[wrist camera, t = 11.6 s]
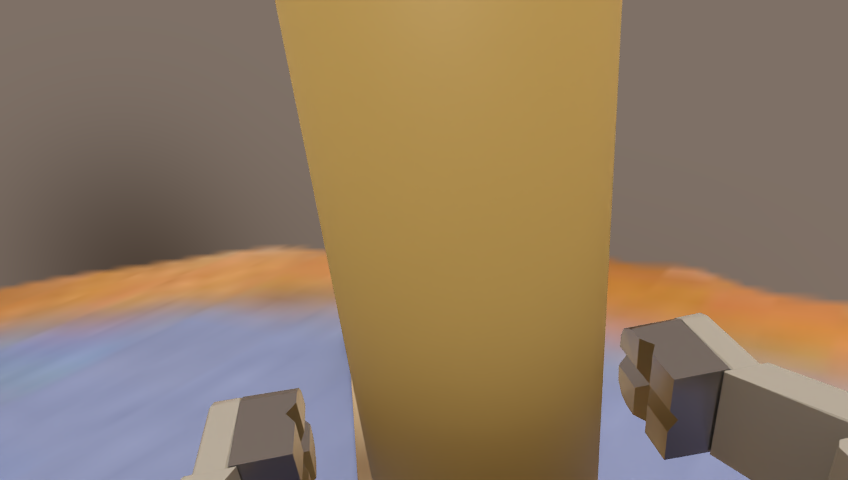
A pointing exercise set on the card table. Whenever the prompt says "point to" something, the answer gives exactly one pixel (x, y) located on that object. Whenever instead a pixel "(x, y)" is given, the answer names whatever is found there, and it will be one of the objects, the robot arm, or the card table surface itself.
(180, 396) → the card table surface
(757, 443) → the robot arm
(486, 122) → the keeper
